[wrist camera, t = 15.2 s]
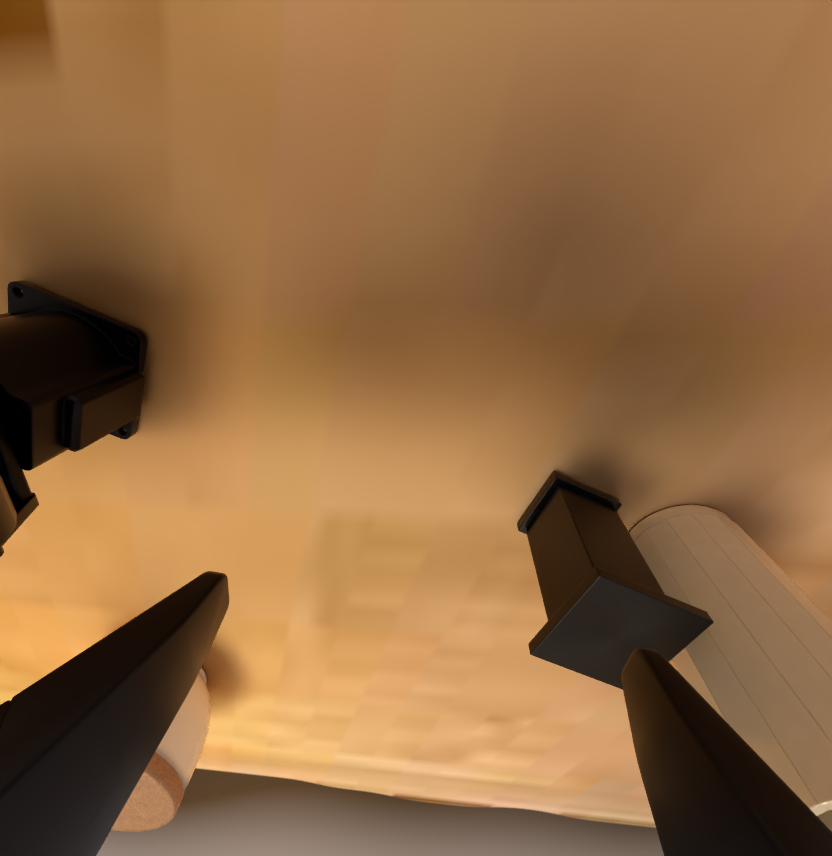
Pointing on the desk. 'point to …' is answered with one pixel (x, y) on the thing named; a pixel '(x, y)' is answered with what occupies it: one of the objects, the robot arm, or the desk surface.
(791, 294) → the desk surface
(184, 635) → the robot arm
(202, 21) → the desk surface
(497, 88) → the desk surface
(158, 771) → the trinket box
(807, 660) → the pen pot
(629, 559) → the leg piece
